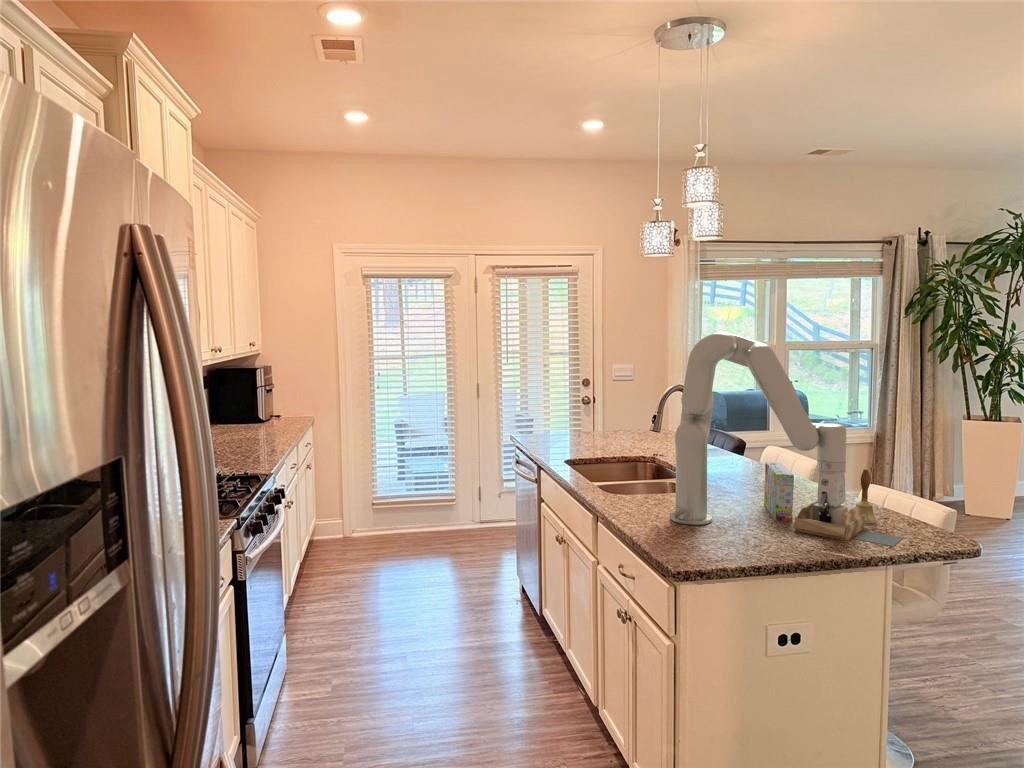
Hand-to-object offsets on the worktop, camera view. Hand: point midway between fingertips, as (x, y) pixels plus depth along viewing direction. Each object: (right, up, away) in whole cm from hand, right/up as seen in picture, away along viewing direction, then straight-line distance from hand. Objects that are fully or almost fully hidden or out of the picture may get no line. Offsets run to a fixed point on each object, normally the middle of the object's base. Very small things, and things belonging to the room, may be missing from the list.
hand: (829, 525), depth 194 cm
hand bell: (+15, -1, +10) cm, 19 cm away
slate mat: (+9, -2, -9) cm, 13 cm away
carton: (0, -2, 0) cm, 2 cm away
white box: (0, -1, 0) cm, 1 cm away
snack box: (-7, -1, +20) cm, 21 cm away
